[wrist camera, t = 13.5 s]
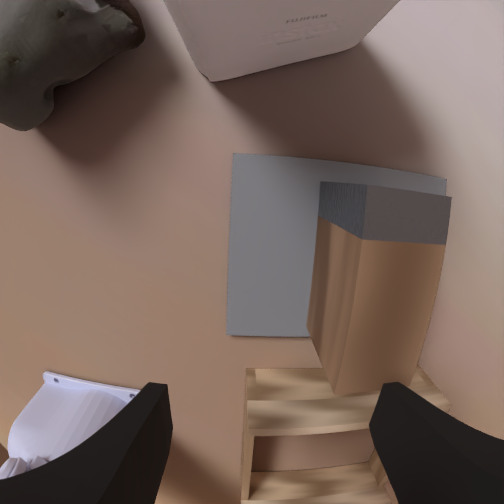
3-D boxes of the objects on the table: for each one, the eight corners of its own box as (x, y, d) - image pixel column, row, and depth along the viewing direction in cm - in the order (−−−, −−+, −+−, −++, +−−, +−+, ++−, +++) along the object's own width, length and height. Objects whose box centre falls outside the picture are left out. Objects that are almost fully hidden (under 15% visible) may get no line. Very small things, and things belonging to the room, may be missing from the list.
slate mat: (226, 331, 20) (226, 334, 19) (233, 153, 17) (233, 153, 17) (417, 328, 20) (420, 331, 20) (442, 178, 18) (446, 178, 17)
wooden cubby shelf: (240, 474, 24) (241, 525, 18) (246, 368, 21) (248, 428, 15) (372, 464, 24) (389, 507, 18) (414, 360, 21) (451, 405, 15)
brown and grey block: (306, 326, 19) (334, 394, 13) (320, 181, 17) (367, 184, 10) (363, 325, 20) (409, 386, 13) (382, 187, 17) (451, 197, 11)
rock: (182, 35, 15) (150, -36, 8) (58, 159, 17) (-25, 158, 9) (64, -54, 12) (26, -95, 4) (-23, 37, 13) (-76, 18, 6)
